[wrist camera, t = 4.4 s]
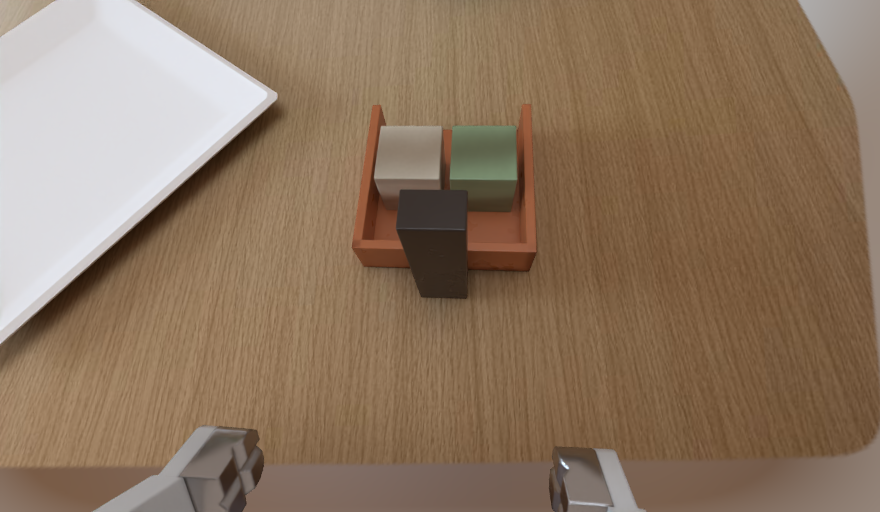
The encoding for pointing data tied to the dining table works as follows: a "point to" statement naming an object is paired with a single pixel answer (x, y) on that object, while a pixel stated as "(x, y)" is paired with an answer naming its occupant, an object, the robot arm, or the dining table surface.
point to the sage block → (485, 166)
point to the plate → (100, 136)
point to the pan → (446, 223)
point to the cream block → (409, 161)
